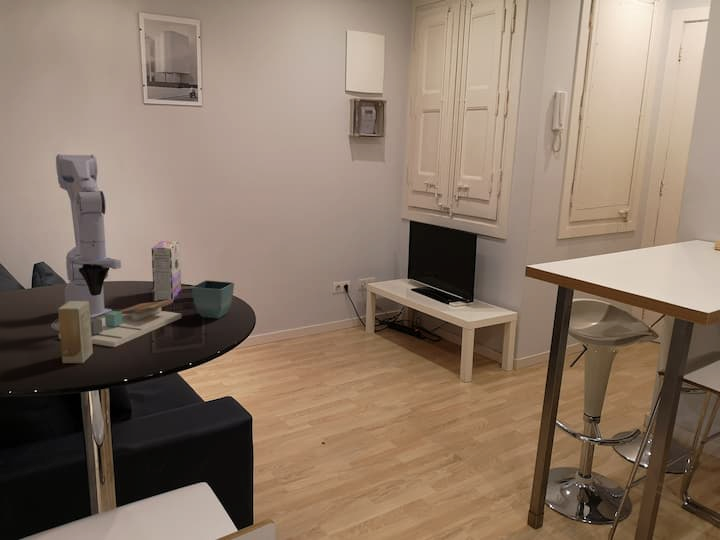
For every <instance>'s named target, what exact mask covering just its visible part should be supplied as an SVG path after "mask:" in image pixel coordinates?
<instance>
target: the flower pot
mask: <svg viewBox="0 0 720 540" xmlns="http://www.w3.org/2000/svg"><path fill="white" fill-rule="evenodd" d="M234 288H235V283H234V282H230V281H217V280H203V281H201V282H199V283H197V284H195V285H193V286H192V287H191V292H192V293H191V294H192V299H193V304H194V306H195V309H196V311H197V313H198V314H199V316H201V317H202V318H209V319H220V318H222V317H223V316H224V315H226V314H227V313H228V311H229V310H230V308H231V304H232V302H233V298H234V297H233V296H234Z"/></svg>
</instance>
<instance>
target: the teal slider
mask: <svg viewBox="0 0 720 540" xmlns="http://www.w3.org/2000/svg"><path fill="white" fill-rule="evenodd" d="M104 317H105V325H106V326H114V327H115V326H118V325H120V324H123V321H122V312H118V310H117V311H116V310H112V311H110V312H107V313H105V314H104Z"/></svg>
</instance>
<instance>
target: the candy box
mask: <svg viewBox="0 0 720 540" xmlns="http://www.w3.org/2000/svg"><path fill="white" fill-rule="evenodd" d="M180 253H181V251H180V241H179V240H160V241H159V242H158V243H157V244H156V245H154V246H152V248H151V265H152V266H151V267H152V269H151V270H152V291H153V302H158V301H165V300H173V301H174V300H175V298H176V297H177V296H178V295H179V293H180V292H181V291H182V277H181V276H182V275H181V274H182V273H181V254H180Z"/></svg>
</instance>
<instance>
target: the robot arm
mask: <svg viewBox="0 0 720 540" xmlns="http://www.w3.org/2000/svg"><path fill="white" fill-rule="evenodd" d="M55 166H56V167H55V169H56V174H57V181H58V184H59V188H61V189H63V190H64V191H66V192H67V195H68V198H69V202H70V209H71V216H72V224H73V232H74V240H75V246H74V247H73V248H72V249H70V251H68V252H67V254H66V258H65V261H66V262H65V263H66V265H65V266H66V276H67V280H68V281H69V282H68V283H67V284H66V286H65V288H64V300H65V301H64V304H66V303H67V302H69V301H89V309H90V319H91V318H96V317H99V316H101V315H105V314H106V313H108V312H111V311H113V309H112V308H105V295H104V282H105V280H107V278H109V271H110V269H112V270H117V269H121V268H122V262H121V259H115V258H110V257H108V256H107V253H106V252H107V251H106V233H105V219H104V217H105V216H104V215H106V208H107V207H106V196H105V193H104V191H103V190H100V189H99V187H98V183H97V180H98V179H97V177H98V161H97V157H96V156H95V155H94V154H86V155H85V154H59V153H58V154H57V155H56V156H55Z"/></svg>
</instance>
